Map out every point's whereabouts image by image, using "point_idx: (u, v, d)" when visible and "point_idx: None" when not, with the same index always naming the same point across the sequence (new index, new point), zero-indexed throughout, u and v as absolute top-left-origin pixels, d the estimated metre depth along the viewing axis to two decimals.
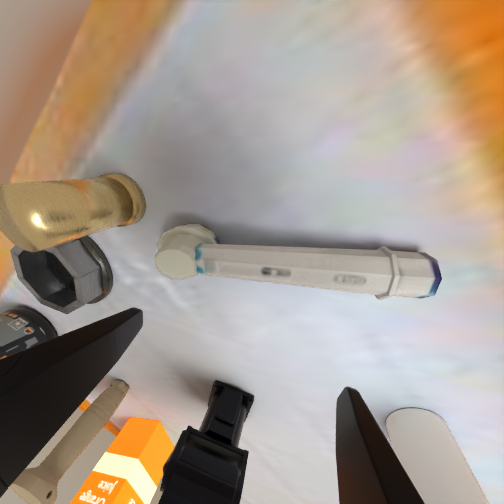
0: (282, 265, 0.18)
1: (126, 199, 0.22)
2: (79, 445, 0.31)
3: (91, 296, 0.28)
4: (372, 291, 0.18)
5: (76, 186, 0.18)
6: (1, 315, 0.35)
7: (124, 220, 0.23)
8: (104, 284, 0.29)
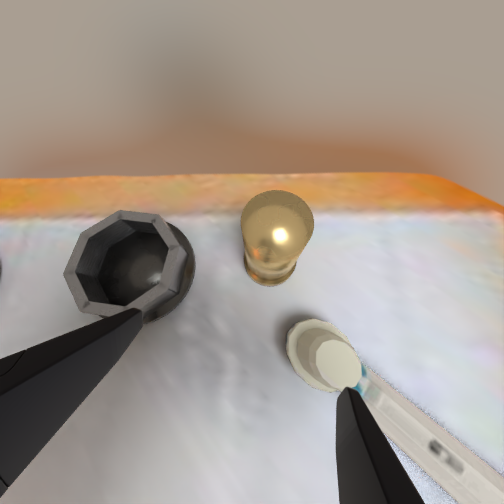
0: (456, 453, 0.15)
1: None
2: None
3: None
4: None
5: None
6: None
7: (274, 279, 0.21)
8: (157, 312, 0.22)
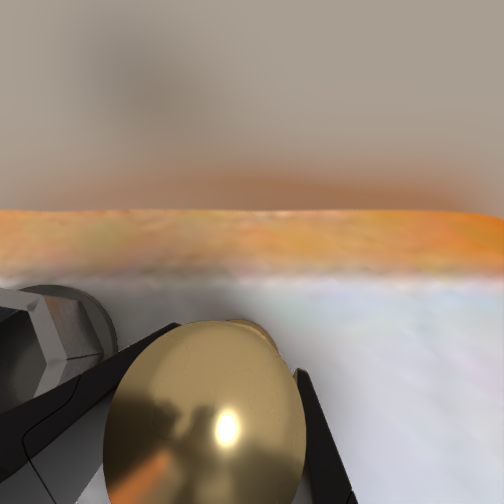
0: None
1: None
2: None
3: None
4: None
5: None
6: None
7: None
8: None
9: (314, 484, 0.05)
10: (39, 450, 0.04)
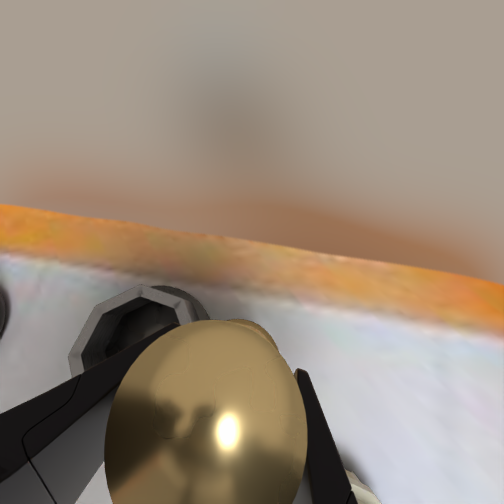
0: None
1: None
2: None
3: None
4: None
5: None
6: None
7: None
8: None
9: (314, 484, 0.05)
10: (39, 450, 0.04)
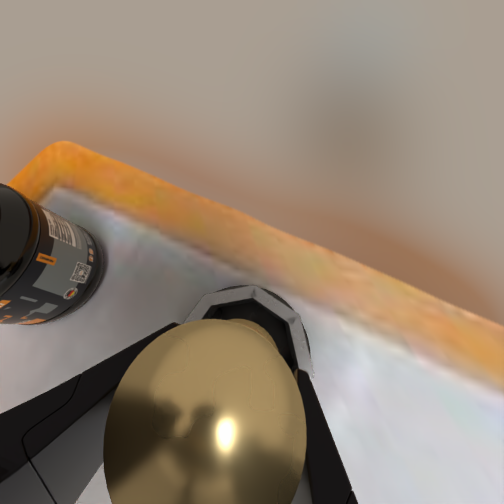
0: None
1: None
2: None
3: None
4: None
5: None
6: (84, 237, 0.21)
7: None
8: None
9: (314, 484, 0.05)
10: (39, 450, 0.04)
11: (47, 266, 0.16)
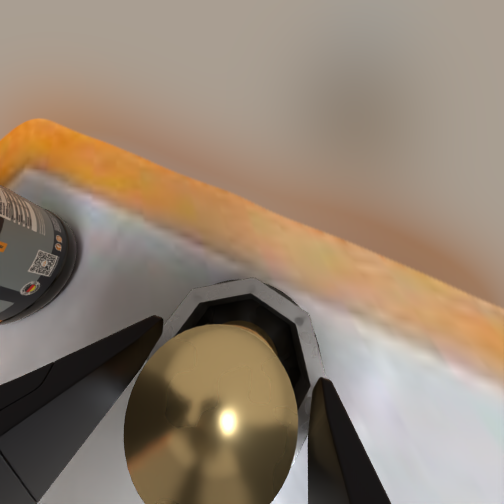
0: None
1: None
2: None
3: None
4: None
5: None
6: (51, 222, 0.17)
7: None
8: None
9: (354, 502, 0.05)
10: (3, 432, 0.04)
11: None
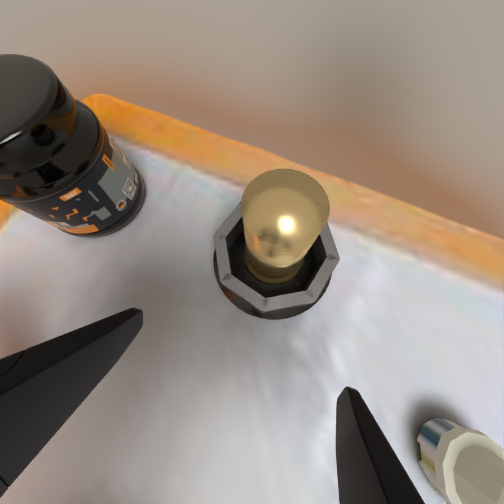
0: None
1: None
2: None
3: (269, 311, 0.18)
4: None
5: None
6: (129, 162, 0.23)
7: (278, 276, 0.18)
8: (278, 313, 0.20)
9: None
10: None
11: (108, 169, 0.19)
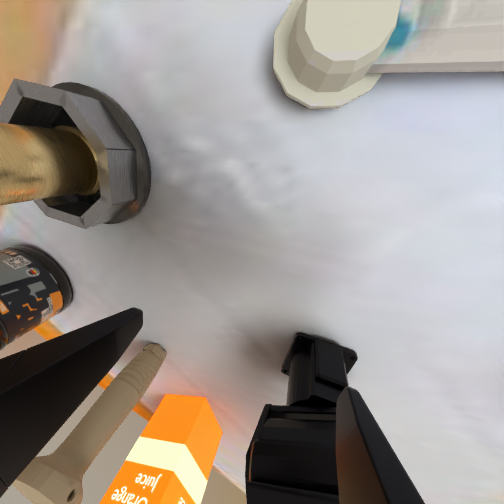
0: None
1: (77, 142, 0.17)
2: (110, 424, 0.21)
3: (122, 196, 0.18)
4: None
5: None
6: None
7: (88, 172, 0.18)
8: (139, 184, 0.19)
9: None
10: None
11: None
